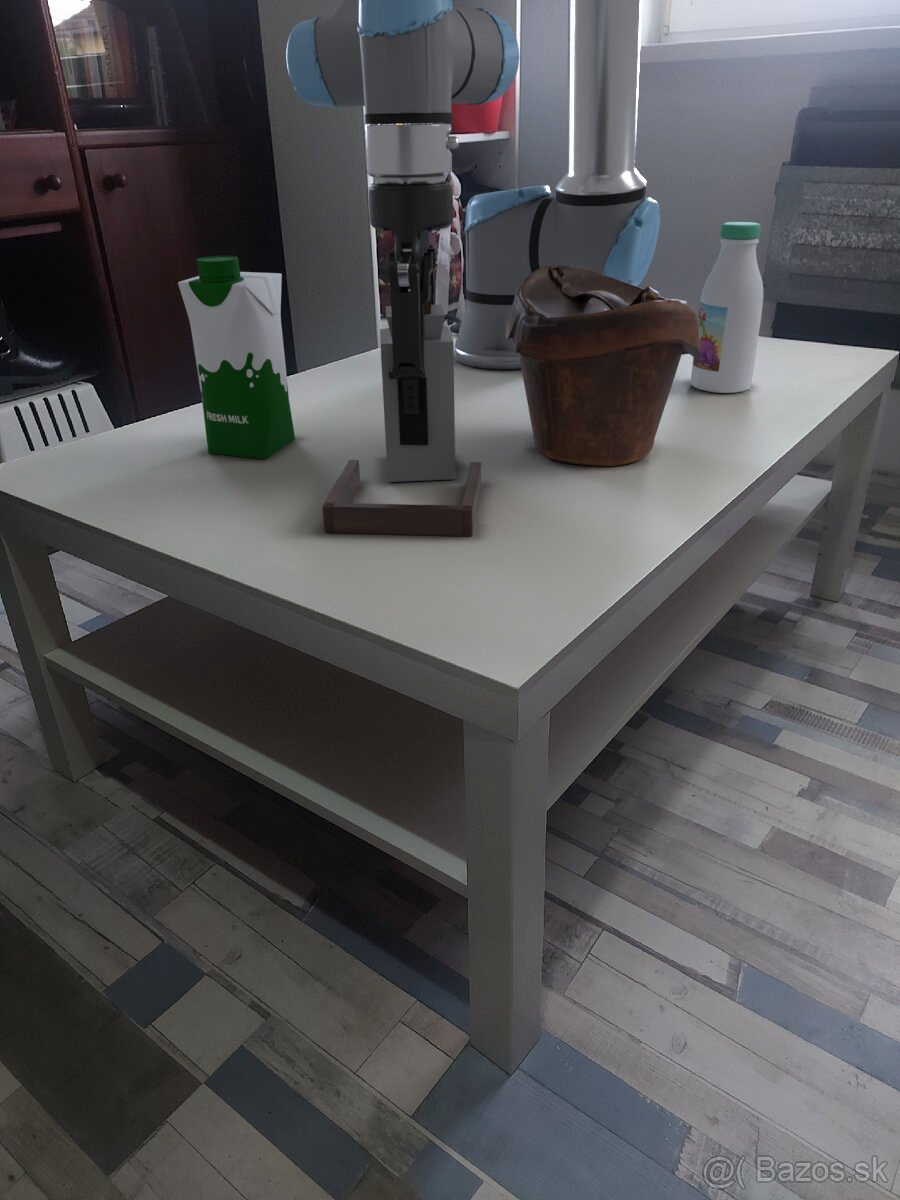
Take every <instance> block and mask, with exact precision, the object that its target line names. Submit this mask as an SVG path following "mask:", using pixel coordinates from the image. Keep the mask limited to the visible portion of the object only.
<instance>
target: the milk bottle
mask: <svg viewBox="0 0 900 1200" xmlns="http://www.w3.org/2000/svg"><path fill="white" fill-rule="evenodd" d="M761 228H762V225H761V224H760V223H758V222H749V221H729V222H725V223H722V225H721V229H720V240H719V242H720V245H721V246H720V252H719V254H718V256H717V259H716V260H715V263H714V265H713V267H712V269H711V271H710V272H709V274H708V277H707V278H706V280H705V282H704V285H703V288H702V291H701V296H700V303H699V307H698V308H699V309H698V315H697V319H698V331H699V344H700V352H701V358H700V362H697V361H696V360H695V358H694V357H693V356H692V367H691V375H690V377H691V378H690V382H691V385H692V386H693V387H694V388H696V389H698V390H701V391H705V392H710V393H717V394H718V393H719V394H720V393H722V394H732V393H741V392H744V391H747V390H749V389H750V387H751V386H752V382H753V376H754V369H755V363H756V357H757V356H756V355H757V349H758V342H759V335H760V330H761V329H760V327H761V320H762V313H763V306H764V305H763V303H764V284H763V279H762V275H761V272H760V269H759V264H758V259H757V245H758V244H759V243H760V241H759V240H760V236H761V230H762V229H761Z"/></svg>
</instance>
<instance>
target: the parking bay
mask: <svg viewBox="0 0 900 1200" xmlns="http://www.w3.org/2000/svg"><path fill="white" fill-rule="evenodd" d="M360 485H361V472H360V461H359V459H349V460H347V462H346V465H345V466H344V468H343V469H342V472H341V473H340V475H339V477H338V478H337V480H336V481H335V484H334V485H333V488H332V489H331V491H330V492H329V494H328V496H327V498H326V500H325V501H324V503H323V505H322V507H321V509H322V518H323V519H322V520H323V529H324V533H325V534H359V535H360V534H361V535H362V534H364V535H399V536H401V535H402V536H403V535H404V536H442V537H443V536H444V537H447V536H448V537H450V536H451V537H473V534H474V528H475V523H476V516H477V512H478V511H477V510H478V506H479V499H480V493H481V487H482V462H481V461H471V462H470V463H469V469H468V474H467V479H466V484H465V488H464V492H463V497H462V502H461V505H458V504H457V505H456V504H455V505H454V504H453V505H452V504H450V505H449V504H410V503H409V504H407V503H403V504H402V503H362V502H361V503H360V502H357V503H356V502H352V501H353V499H354V497H355V495H356V493H357V491H358V489H359V488H360Z"/></svg>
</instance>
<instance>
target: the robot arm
mask: <svg viewBox="0 0 900 1200" xmlns="http://www.w3.org/2000/svg"><path fill="white" fill-rule="evenodd" d="M642 5H643V0H567V171H566V173H565V174H564V175H563V177H562V178H561V179H560V180H559V181H558V183H556V185H555V196H552V191H551V188H550V186H549V185H548V184H544V185H543V184H542V185H535V186H527V187H521V188H519V187H518V188H511V189H505V190H499V191H493V192H492V191H491V192H485V193H480V194H475V195H473V196H472V197H471V198H470V199H469V200H468V202H467V205H466V212H465V213H466V215H465V226H464V234H465V275H466V276H465V285H466V286H465V287H466V290H465V292H466V296H465V297H466V301H465V302H466V303H465V309H464V313H463V315H462V319H460V318H459V317H458V316H456V315H454V314H451V313H445V319H444V323H445V321H447V320H450V321H453V322H454V324H451V325H450V327H449V331H450V333H453V334H456V335H457V337H456V339H455V343H454V360H455V361H456V362H458V363H460V364H463V365H465V366H469V367H474V368H479V369H488V370H522V369H521V363H520V357H519V353H516V351H515V344H514V341H513V338H509V339H507V338H506V329H507V321H508V318H509V315H510V312H511V308H512V305H513V302H514V298H515V295H516V292H517V289H518V288H519V286H520V285H521V284H522V283H523V281H524V280H525V279H526V278H527V277H528V276H529V275H530V274H531V273H532V272H534V271H536V270H537V269H539V268H542V267H545V266H550V265H570V266H575V267H580V268H584V269H588V270H592V271H595V272H598V273H600V274H603V275H605V276H609V277H612V278H615V279H618V280H621V281H623V282H626V283H629V284H632V285H635V286H637V287H639V285H640V284H641V283H642V282H643V280H644V278H645V276H646V275H647V272H648V270H649V268H650V265H651V263H652V260H653V258H654V255H655V252H656V247H657V243H658V239H659V233H660V226H661V213H660V205H659V203H658V201H657V200H655V199H653V198H652V197H647V195H646V193H647V180H646V179H645V178H644V177H643V176H642V175H641V174H640V172H639V171H638V170H637V168H636V151H637V150H636V149H637V125H638V124H637V122H638V104H639V103H638V102H639V77H640V53H641V34H642V33H641V30H642V9H643V8H642V7H643V6H642ZM285 53H286V54H285V58H286V68H287V73H288V76H289V79H290V81H291V82H292V86H293V88H294V90H295V92H296V93H297V95H298V97H299V98H301V99H302V101H304V102H305V103H307V104H309V105H311V106H315V107H334V108H336V109H343V108H350V107H351V108H352V107H364V113H365V114H364V124H365V125H364V127H363V128H364V144H365V147H364V148H365V165H366V168H365V169H366V174H367V175H368V176H369V177H371V178H373V183H370V186H369V187H367V190H368V192H367V193H368V206H369V207H368V211H369V224H370V225H371V227H372V228H374V229H375V230H379V231H384V232H385V231H392V232H394V236H395V237H394V238H395V239H394V248H393V249H392V251H389V252H388V266H387V273H388V276H389V277H388V278H389V287H390V306H391V312H392V340H393V372H389V379H397V384H398V407H399V429H400V445H428V412H427V377H424V375H425V370H424V329H425V323H424V316H425V304H426V303H427V302H429V300H430V284H431V286H432V302H431V305H436V300H435V299H436V297H435V295H436V294H435V289H436V274H435V272H436V271H435V270H436V269H435V268H436V265H437V248H436V247H435V246H434V244H431V243H430V236H429V231H438V230H443V229H447V228H450V227H452V225H453V222H454V186H453V185H452V184H451V182H450V181H446V176H449V175H451V174H452V172H453V155H452V151H450V150H455V149H456V150H457V149H458V148H459V147H460V141H459V138H458V136H456V135H453V136H452V135H450V134H451V132H452V124H451V123H453V121H452V120H453V119H452V105H459V104H460V105H461V104H466V105H468V106H472V105H477V106H482V105H484V104H485V103H487V104H488V103H491V102H494V101H496V100H498V99H500V98H501V97H503V96H504V95H505V94H506V93H507V92H508V91H509V90H510V88H511V87H512V85H513V84H514V81H515V79H516V76H517V73H518V70H519V64H520V49H519V43H518V39H517V36H516V34H515V32H514V30H513V29H512V27H511V25H510V24H509V23H508V22H507V21H506V20H505V19H504V18H502V17H501V16H499V15H497V14H495V13H492V12H491V11H489V10H486V9H485V8H482V7H477V8H470V7H463V6H462V7H461V6H456V5H454V3H453V0H341V2H340V3H339V4H338V5H337V7H336V8H335V10H334V11H333V12H332V14H331V15H329V16H327V17H322V16H315V17H313V18H312V19H307V20H304V21H299V23H297V24H296V25H295V26H293V29H292V30H291V32H290V34H289V36H288V39H287V44H286V51H285ZM403 363H413V364H403Z"/></svg>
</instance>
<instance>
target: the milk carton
mask: <svg viewBox="0 0 900 1200" xmlns="http://www.w3.org/2000/svg"><path fill="white" fill-rule="evenodd" d="M239 261H240V260H239V258H238V257H237V256H235V255H212V256H203V257H199V258H197V259H196V264H197V271H198V272H197V273H198V275H197V276H194V277H191V278H188V279H183V280H181V281H178V282H177V285H178V288H179V291H180V294H181V297H182V300H183V303H184V307H185V310H186V314H187V318H188V320H189V324H190V330H191V337H192V344H193V350H194V356H195V363H196V369H197V375H198V382H199V383H198V384H199V389H200V396H201V403H202V411H203V420H204V427H205V436H206V445H207V452H208V454H211V455H212V454H214V455H223V456H230V457H231V456H232V457H241V458H248V459H249V458H252V459H257V460H258V459H259V460H265V459H268V457H270V456H272V455H273V454H275V453H276V452H278V451H279V450H281V449H282V448H284V447H285V446H287V445H288V444H290V443H291V442H293V441H294V440H296V436H295V428H294V422H293V416H292V410H291V404H290V396H289V385H288V376H287V367H286V365H287V364H286V357H285V356H286V355H285V348H284V337H283V328H282V316H281V314H282V313H281V312H282V309H281V306H282V283H283V281H282V280H283V274H282V273H279V272H278V273H277V272H254V271H253V272H250V271H240V270H241V269H240V263H239Z"/></svg>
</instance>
